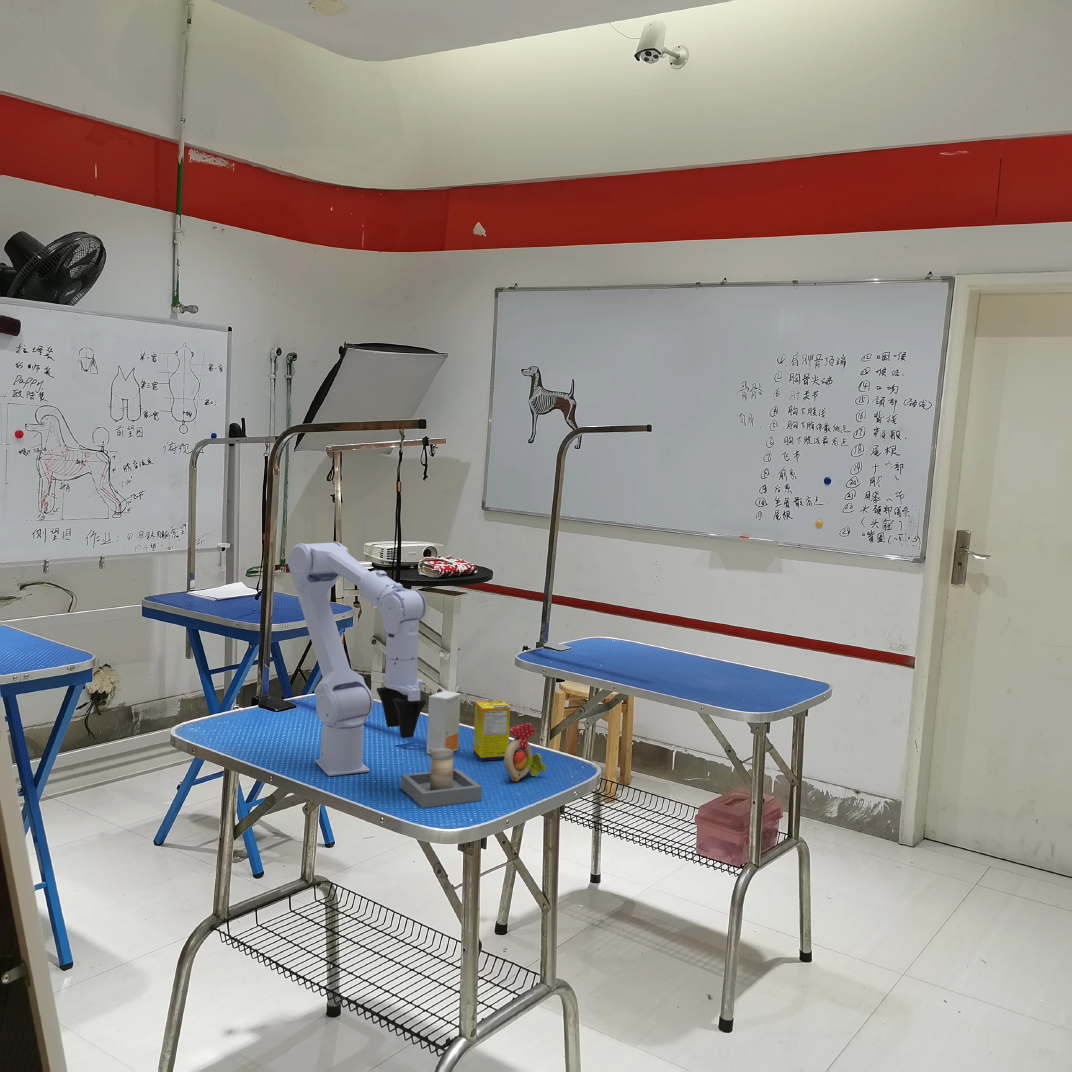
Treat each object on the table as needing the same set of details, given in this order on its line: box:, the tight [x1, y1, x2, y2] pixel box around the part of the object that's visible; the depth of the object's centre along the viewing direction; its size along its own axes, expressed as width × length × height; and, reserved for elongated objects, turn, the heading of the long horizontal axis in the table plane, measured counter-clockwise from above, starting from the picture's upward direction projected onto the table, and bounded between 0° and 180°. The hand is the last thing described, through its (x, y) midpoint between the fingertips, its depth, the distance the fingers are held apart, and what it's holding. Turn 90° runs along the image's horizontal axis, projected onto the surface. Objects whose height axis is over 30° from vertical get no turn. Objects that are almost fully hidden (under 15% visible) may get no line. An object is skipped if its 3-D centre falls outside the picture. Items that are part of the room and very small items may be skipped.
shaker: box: [430, 748, 454, 791], centre depth 179 cm, size 4×4×7 cm
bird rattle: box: [503, 721, 547, 783], centre depth 190 cm, size 6×11×9 cm
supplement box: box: [473, 699, 511, 762], centre depth 203 cm, size 6×6×11 cm
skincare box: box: [426, 690, 462, 755], centre depth 205 cm, size 6×4×12 cm
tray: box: [400, 768, 483, 809], centre depth 179 cm, size 11×11×2 cm
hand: (399, 731), depth 181 cm, fingers open, 7 cm apart
